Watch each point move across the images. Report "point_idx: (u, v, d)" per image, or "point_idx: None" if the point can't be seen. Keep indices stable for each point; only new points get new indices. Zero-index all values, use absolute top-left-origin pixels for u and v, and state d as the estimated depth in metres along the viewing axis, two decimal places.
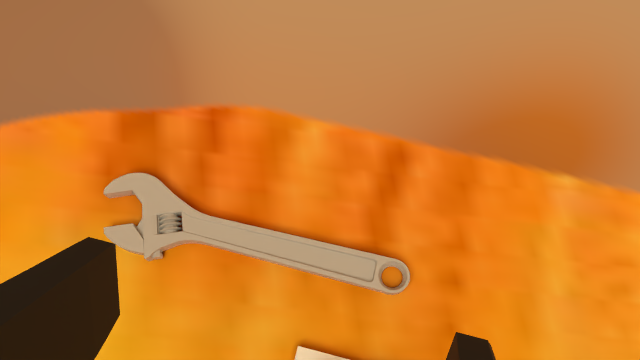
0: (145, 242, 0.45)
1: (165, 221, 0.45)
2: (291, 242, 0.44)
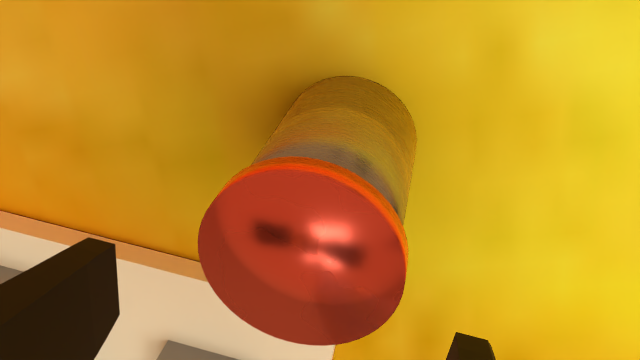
0: None
1: None
2: None
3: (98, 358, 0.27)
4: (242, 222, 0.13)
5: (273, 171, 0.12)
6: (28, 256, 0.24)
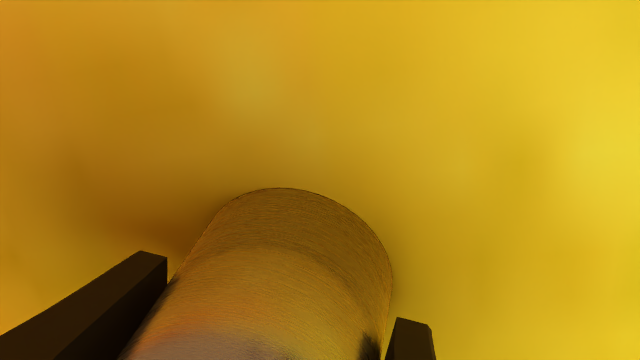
0: None
1: None
2: None
3: None
4: None
5: None
6: None
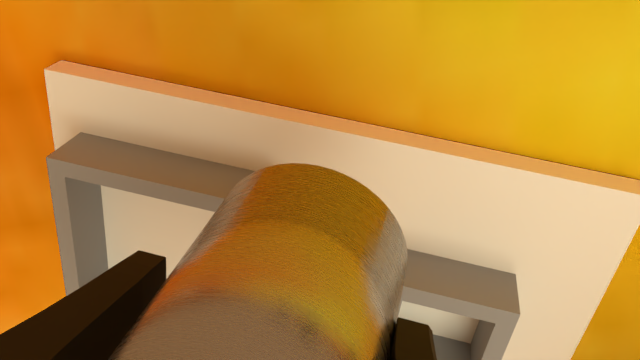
0: None
1: None
2: None
3: None
4: None
5: None
6: (225, 139, 0.19)
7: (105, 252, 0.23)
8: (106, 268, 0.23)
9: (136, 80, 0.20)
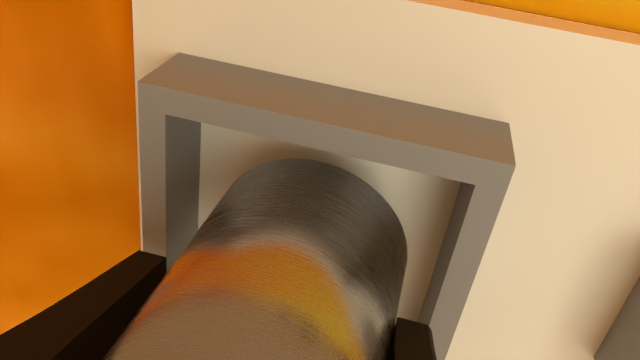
0: None
1: None
2: None
3: (480, 277, 0.15)
4: None
5: None
6: (417, 60, 0.12)
7: None
8: None
9: None
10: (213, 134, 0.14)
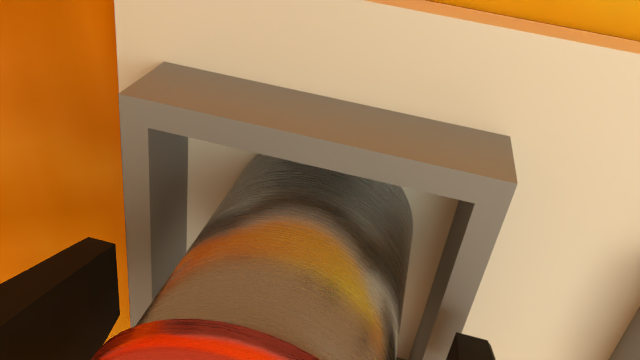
0: None
1: None
2: None
3: (480, 295, 0.14)
4: None
5: (183, 359, 0.07)
6: (413, 70, 0.12)
7: None
8: None
9: None
10: (201, 147, 0.14)
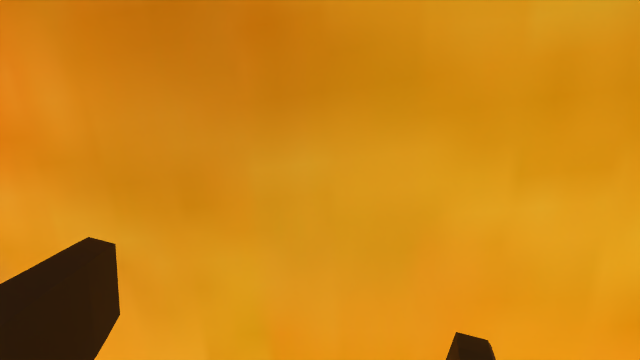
0: None
1: None
2: None
3: None
4: None
5: None
6: None
7: None
8: None
9: None
10: None
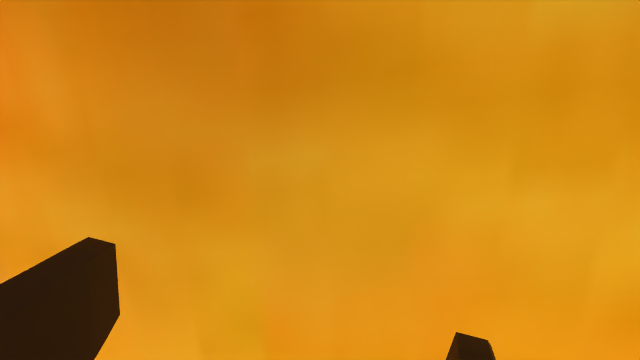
0: None
1: None
2: None
3: None
4: None
5: None
6: None
7: None
8: None
9: None
10: None
